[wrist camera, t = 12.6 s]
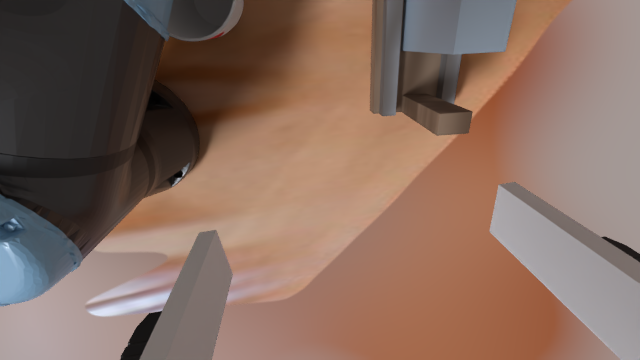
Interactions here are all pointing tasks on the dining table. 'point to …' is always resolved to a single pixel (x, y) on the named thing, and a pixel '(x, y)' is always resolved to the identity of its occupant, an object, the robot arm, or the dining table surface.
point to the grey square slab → (456, 26)
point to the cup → (203, 18)
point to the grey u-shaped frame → (413, 77)
